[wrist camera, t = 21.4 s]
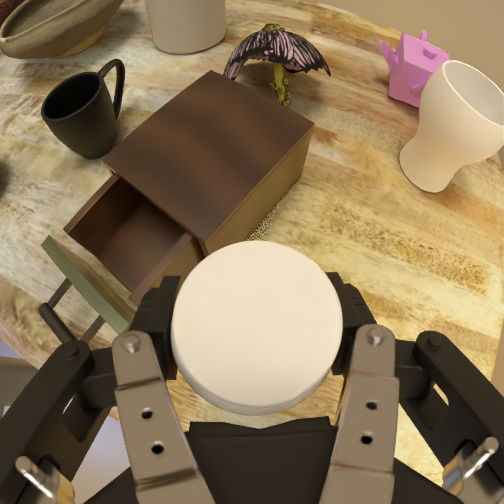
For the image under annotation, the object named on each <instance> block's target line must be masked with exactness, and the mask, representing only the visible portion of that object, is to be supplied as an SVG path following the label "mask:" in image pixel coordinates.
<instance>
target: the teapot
mask: <svg viewBox="0 0 504 504" xmlns="http://www.w3.org/2000/svg"><path fill="white" fill-rule="evenodd" d="M427 39H428V33H427V32H426V31H425V30H422V33H421V36H420V38H419V39H418V38H415V37H413V36H411V35H408V34H406V33H402V36H401V38H400V41H399V44H398V46H397V49H396V51H395V53H394V52H393V50H392V49H391V47H390V46H389V44H388V42H380V47H381V50H382V52H383V54H384V56H385V59H386V61H387V64H388V66H389V69H390V79H389V94H388V95H389V96H391V97H392V98H393V99H395V100H401V101H404V102H406V103H408V104H411V105H413V106H415V107H418V108H419V106H420V100H421V94H422V92H423V89H424V87H425V85H426V83H427V82H428V80H429V78H430V76H431V75H432V74H433V73H434V72H435V71H436V70H437V69H438V68H439V67H440V66H441V65H442V64H443V63H445V62H446V61H450V60H449V56H448V52H445V51H443V50H441V49H439V48H437V47H435V46H433V45H431V44H429V43H427Z"/></svg>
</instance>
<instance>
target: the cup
mask: <svg viewBox="0 0 504 504" xmlns="http://www.w3.org/2000/svg"><path fill="white" fill-rule="evenodd" d="M419 123H420V125H419V128H418V130H417V133H416V135H415V136H414V137H413V138H412V139H411V140H410V141H409V142H408V143H407V144H406V145H405V146H404V147H403V148H402V150H401V152H400V157H399V160H400V165H401V167H402V170H403V172H404V173H405V175H406V176H407V178H408V179H409V180H410V181H411V182H412V183H413V184H414V185H416V186H417V187H419V188H420V189H422V190H425V191H427V192H432V193H435V192H440V191H442V190H444V189H445V187H446V186H447V185H448V183H449V182H450V180H451V179H452V177H453V175H454V174H455V172H456V171H457V170H458V169H460V168H461V167H462V166H464V165H468V164H475V163H478V162H480V161H482V160H484V159H487V158H489V157H491V156H493V155H494V154H495V153H496V152H497V151H498V150H499V149H500V148H501V147H502V146H503V145H504V94H503V92H502V91H501V90H500V89H499V88H498V87H497V86H496V84H494V83H493V82H492V81H491V80H490V79H489V78H488V77H487V76H485V75H484V74H483V73H481V72H480V71H479V70H477V69H475V68H473V67H472V66H470V65H468V64H465V63H463V62H459V61H455V60H450V61H446V62H445V63H443V64H442V65H441V66H440V67H439V68H438V69H437V70H436V71H435V72H434V73H433V74H432V75H431V76H430V78H429V80H428V82H427V83H426V85H425V87H424V89H423V92H422V94H421V100H420V106H419Z"/></svg>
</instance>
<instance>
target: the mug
mask: <svg viewBox="0 0 504 504" xmlns="http://www.w3.org/2000/svg"><path fill="white" fill-rule="evenodd" d="M114 66H116V70H117V78H116V88H115V95H114V101H113V104H112V100H111V96H110V94H109V91H108V89H107V86H106V84H105V82H104V79H103V78H104V77H105V76H106V74H107V73H108V72H109V71H110V70H111V69H112V68H113V67H114ZM124 80H125V67H124V64H123V63H122V61H121V60H119V59H113V60H111V61H110V62H108V63H107V64H106V65H105V66H104V67H102V69H101V70H100V71H99V72H98V73H96V72H83V73H79V74H76V75H74V76H71V77H69V78H68V79H66V80H64V81H63V82H61V83H60V84H59V85H57V86H56V87H55V88H54V89H53V90H52V91H51V92H50V93H49V95H48V96H47V97H46V99H45V101H44V102H43V105H42V108H41V115H42V118H43V120H44V121H45V122H46V124H47V125H48V127H49V128H50V130H51V131H52V132H53V134H54V135H55V136H56V137H57V138H58V139H59V140H60V141H61V142H62V143H64V144H65V145H66V146H67V147H69V148H70V149H71V150H73V151H74V152H76V153H78V154H79V155H81V156H82V157H84V158H86V159H97V158H100V157H102V156H104V155H105V154H107V153H108V152H109V151H110V150H111V149H112V148H113V146H114V144H115V142H116V139H117V134H116V121H117V119H118V116H119V113H120V108H121V102H122V95H123V88H124Z"/></svg>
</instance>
